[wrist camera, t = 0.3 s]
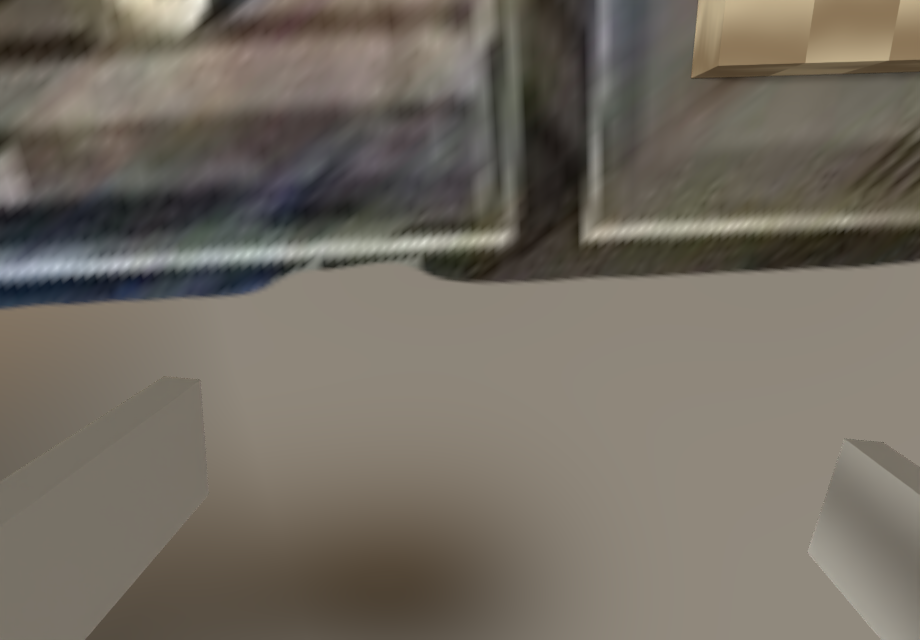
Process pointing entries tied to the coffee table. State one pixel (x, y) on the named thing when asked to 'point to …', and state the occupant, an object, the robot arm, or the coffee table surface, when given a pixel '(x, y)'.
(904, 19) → the hole block
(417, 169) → the coffee table surface
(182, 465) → the robot arm
